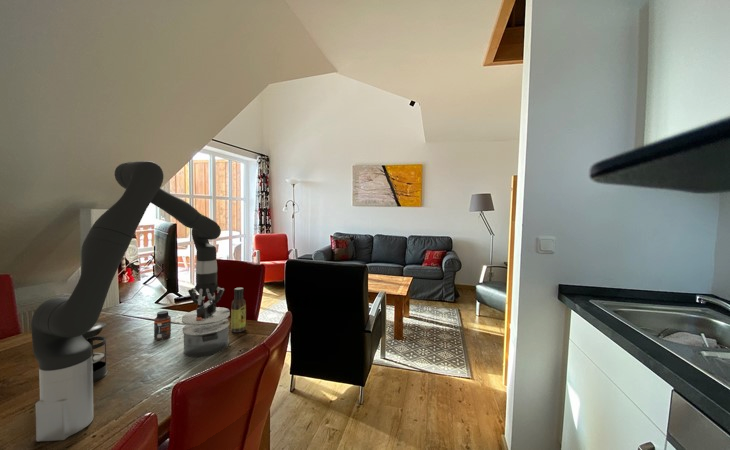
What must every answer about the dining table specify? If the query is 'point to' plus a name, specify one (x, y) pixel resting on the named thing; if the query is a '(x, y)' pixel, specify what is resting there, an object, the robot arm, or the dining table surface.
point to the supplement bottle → (162, 326)
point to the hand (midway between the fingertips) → (206, 312)
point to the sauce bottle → (238, 311)
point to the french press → (98, 365)
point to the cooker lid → (205, 315)
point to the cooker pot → (206, 338)
